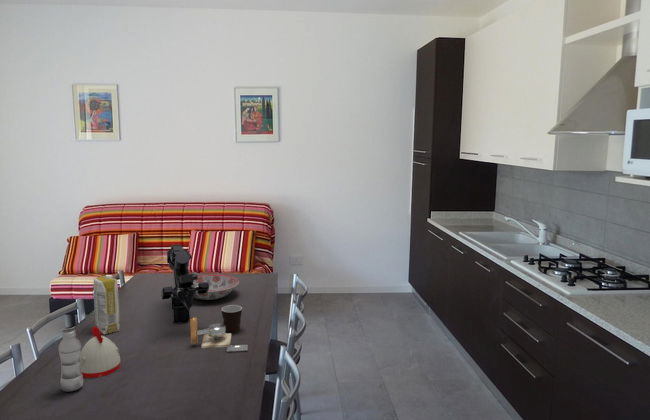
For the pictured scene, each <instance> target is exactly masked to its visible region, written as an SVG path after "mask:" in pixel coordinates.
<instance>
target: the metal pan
mask: <svg viewBox="0 0 650 420" xmlns="http://www.w3.org/2000/svg"><path fill="white" fill-rule="evenodd" d="M189 324H190V325H189V326H190V344H193V345H196V344H198V341H199V340H198V339H199V338H198V336H200V335H204V334H208V336H210V337H221V336H224V335H225V334H226V326H225V325H224V324H223V323H220V322H219V323H218V322H216V323H212V324H209V325H208V326H207V328H204V329H200V330H198V317H196V316H192V317H190V320H189Z"/></svg>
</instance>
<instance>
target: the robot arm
mask: <svg viewBox="0 0 650 420" xmlns="http://www.w3.org/2000/svg"><path fill="white" fill-rule="evenodd" d="M191 259H192V255H191V252H190V251H188V249H186V248H185V249H184V248H183V244H172V245H170V249H168V251H167V252H166V264H168V268H169V269H170V270H171V271H172V274H173V283H174V287H173V286H164V287H162V288H161V291H160V292H161V294H160V296H161V300H168V299H170V308H171V311H173V320H172V323H173V324H182V323H185V324H187V323H189V322H190V318H191V308H192V307H193V298H195V297H194V295H195V292H196V291H197V292H198V294H206V293H207V292H208V289H209V284H208V283H207V282H202V283H199V284H198V286H195V287H192V285H193V280H197V279H198V277H197V276H198V272H197V271H194V272H191V274H190V271H189V266H190V261H191Z"/></svg>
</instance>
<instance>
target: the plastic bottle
mask: <svg viewBox="0 0 650 420" xmlns="http://www.w3.org/2000/svg"><path fill="white" fill-rule="evenodd" d="M76 336H77V333H76V329H75V328H65V329H63V330H62V331H61V337H62V339H61V341H60V342H59V344H58V347H57V349H58V353H59V354H58V355H59V358H60V365H61V373H60V374H61V376H60V382H59V385H60V389H61V390H62V391H63V392H66V393H71V392H74V391H77V390H79V389H81V388H82V386H83V385H84V377H83V375H82V372H81V365H80V354H81V351H82V343H81V341H80V340H79V338H77V337H76Z"/></svg>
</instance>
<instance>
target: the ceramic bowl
mask: <svg viewBox="0 0 650 420" xmlns="http://www.w3.org/2000/svg"><path fill="white" fill-rule="evenodd" d="M197 277H198V279H197V280H193V285H192V287H195V286H198V284H199V283H202V282H207V283H208V284H209V289H208V292H207V293H206V294H198V292H197V291H196V292H195V295H194V297H193V298H194V299H199V300H203V301H204V300H205V301H206V300H207V301H213V300H218V299H222V298H224V297H226V296H228V295H229V294H230V293H232V291H233V290H234V289H235V287H237V286H238V285H239V283H240V281H239V279H238V278H237V277H235V276H233V275H226V274H203V275H202V274H201V275H197Z"/></svg>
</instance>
